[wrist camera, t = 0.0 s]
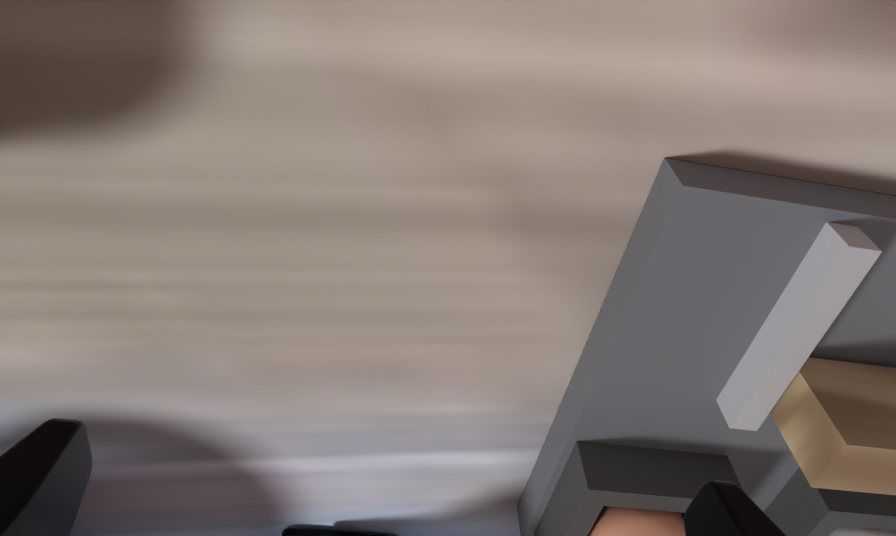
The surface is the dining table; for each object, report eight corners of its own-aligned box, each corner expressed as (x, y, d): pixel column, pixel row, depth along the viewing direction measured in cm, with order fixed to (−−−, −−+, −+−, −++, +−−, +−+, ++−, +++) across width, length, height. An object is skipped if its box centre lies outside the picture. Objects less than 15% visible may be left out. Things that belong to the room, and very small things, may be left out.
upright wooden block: (867, 408, 28) (933, 498, 24) (760, 396, 27) (811, 487, 24) (900, 368, 26) (975, 457, 23) (788, 354, 26) (846, 444, 22)
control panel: (851, 535, 38) (897, 614, 34) (517, 507, 35) (528, 590, 31) (1139, 235, 26) (1257, 309, 22) (664, 157, 23) (710, 226, 19)
